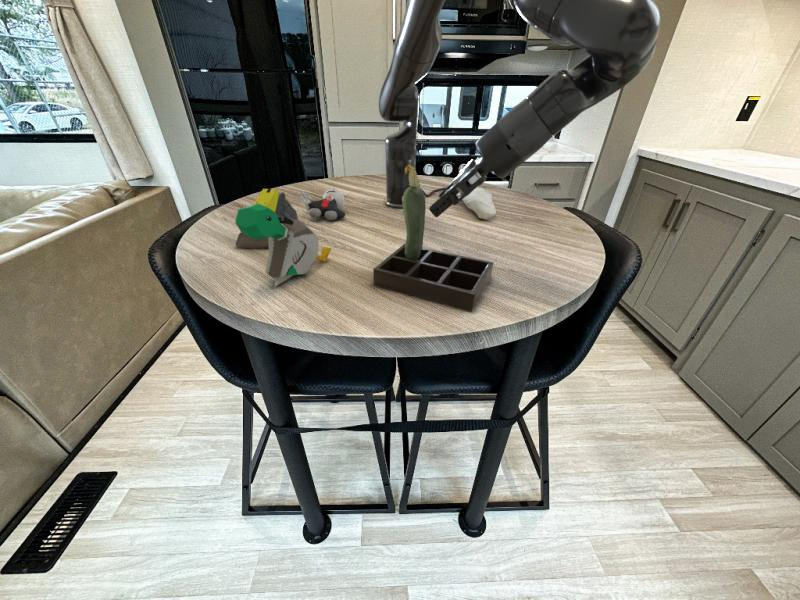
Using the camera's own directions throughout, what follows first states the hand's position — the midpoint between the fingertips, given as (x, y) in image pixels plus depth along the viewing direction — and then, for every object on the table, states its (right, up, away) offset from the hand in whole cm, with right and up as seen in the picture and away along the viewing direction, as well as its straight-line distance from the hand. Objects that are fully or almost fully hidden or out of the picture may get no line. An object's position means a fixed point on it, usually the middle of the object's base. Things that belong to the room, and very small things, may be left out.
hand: (437, 205), depth 60 cm
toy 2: (-30, +9, +38) cm, 50 cm away
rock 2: (+18, +13, +45) cm, 50 cm away
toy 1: (-29, -12, +8) cm, 32 cm away
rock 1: (-39, -2, +22) cm, 45 cm away
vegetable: (-4, -10, +9) cm, 14 cm away
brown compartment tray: (0, -14, +4) cm, 14 cm away
